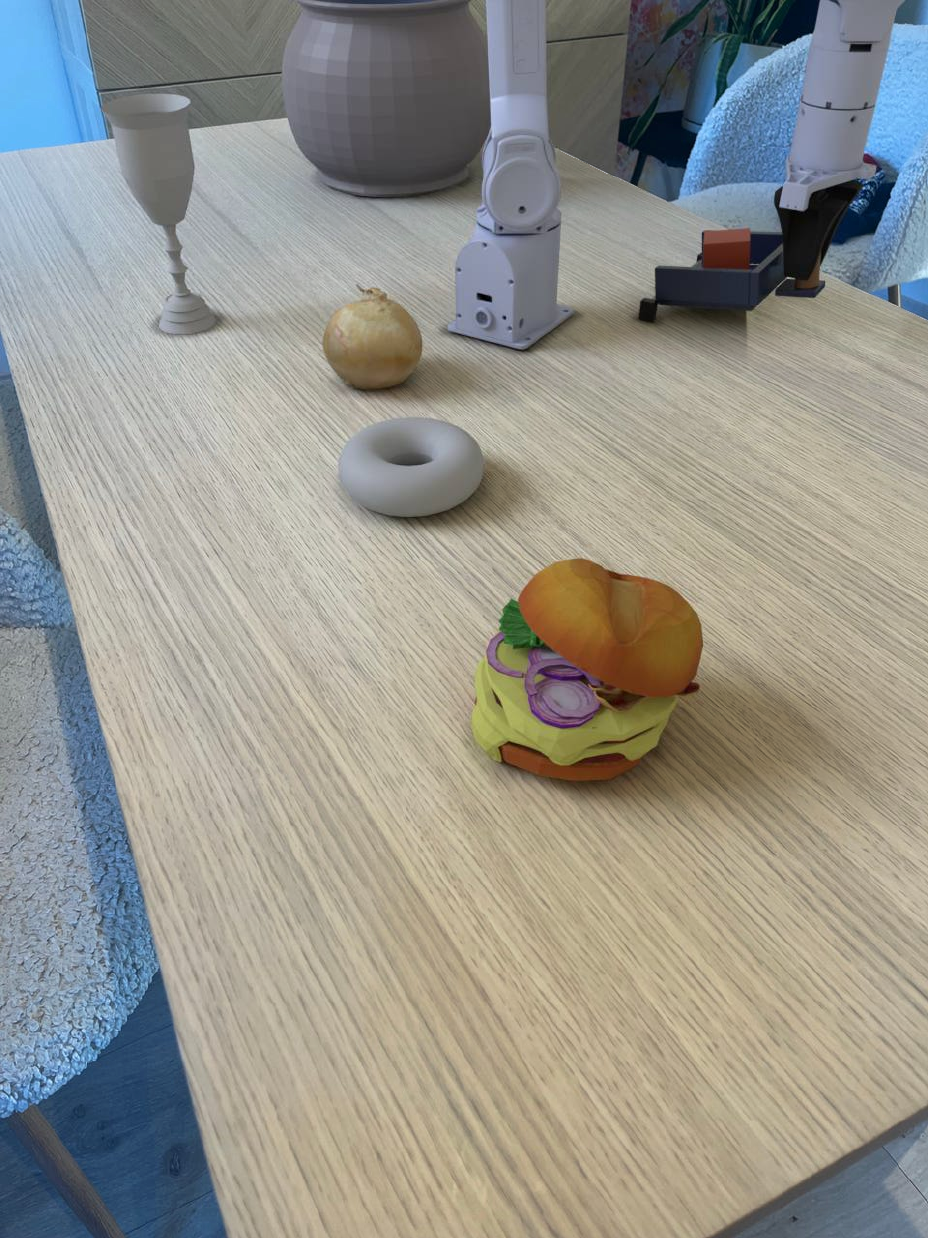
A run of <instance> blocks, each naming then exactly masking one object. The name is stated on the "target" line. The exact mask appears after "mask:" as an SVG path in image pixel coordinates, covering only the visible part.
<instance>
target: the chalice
mask: <svg viewBox="0 0 928 1238" xmlns="http://www.w3.org/2000/svg"><path fill="white" fill-rule="evenodd" d="M190 106H191V99H190V98H188V97H186V96H184V95H180V94H172V93H144V94H135V95H129V96H124V97H119V98H116V99H113V100H110V101H108V102H105V103H104V104H103V105H102V106H101V109H100V110H101V111H102V113H103V114H104V116H105V117H106V119H107V120H108V122H109V123H110V125H111V130H112V134H113V139H114V144H115V149H116V153H117V158H118V163H119V167H120V172H121V176H122V177H123V179H124V181H125V183H126V186H127V187H128V188H129V190H130V192H131V194H132V196H133V198H134V199H135V200H136V201H137V204H138V205H139V206H140V208H141V209H142V211H143V212H144V213H145V214H146V216H147V217H148V219H149V221H150V222H151V223H152V224H154V225H157V226H159V227H160V226H161V227H162V228H163V231H164V234H165V245H164V247H163V250H164V251H165V252H166V253H167V255H168V258H169V259H170V261H169V266H168V268H167V269H166V270H167V271H166V272H168V273H169V274H170V275H171V277H172V279H173V281H174V290H173V292H172V293H171V294H169V295H167V297H166V298H165V300H164V302H163V303H162V310H161V312H160V316H161V318H160V321H159V322H158V328H159V329H160V330H161V331H162V332H165V333H167V334H172V335H191V334H197V333H200V332H203V331H206V330H208V329H210V328H211V327H213V326H214V325H215V324H216V323H217V319H216V317H215V316H214V315H213V314H212V312H211V309H210V307H209V306H208V305H207V303H206V301H205V299H204V298H203V297H202V296H201V295H200V294H198V293H196V292H194V291H193V292H192V290H191V289H189V288H188V286H187V283H186V272H187V270H188V267H187V266H186V265H185V264H184V263H183V261H182V258H181V253H182V250H183V248H184V247H183V245H182V243H180V241H179V238H178V236H177V224H179V223H181V222H182V221H184V220H185V218H186V214H187V211H188V206H189V202H190V199H191V194H192V191H193V184H194V177H195V168H196V167H195V166H196V165H195V160H194V153H193V147H192V141H191V136H190V129H189V124H188V118H187V117H188V113H189V111H190Z"/></svg>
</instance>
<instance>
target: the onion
mask: <svg viewBox="0 0 928 1238" xmlns="http://www.w3.org/2000/svg"><path fill="white" fill-rule="evenodd" d="M355 287H356V288H357V289H358V291H359V292H362V293H361V294H362V298H361V299H359V300H357V301H354V302H351V303H348V304H346V305H345V306H342V307H341V308H339V309H338V310H337V311H336V312H334V314H333V315H332V316H331V317H330V318H329V321H328V322H327V325H326V326H325V329H324V332H323V336H322V344H321V347H322V351H323V353H324V356H325V359H326V362H327V363H328V365H329V366H330V368H331V369H332V371H334V373H336V375H337V377H339V379H340V380H342V382H343V383H344V384H345V385H346V386H347V387H349V388H350V389H354V388H357V389H359V390H366V391H367V390H377V389H386V388H390V387H394V386H398V385H400V384H402V383H404V382H406V381H407V379H408V377H409V376H411V375H412V373H413V372H415V371H416V369H418V366H419V363H420V361H421V358H422V356H423V355H422V354H423V344H424V343H423V337H422V332H421V330H420V327H419V325H418V324H417V322H416V320H415V319H414V317H413V316H412V315H411V314H410V313H409V312H408V311H407V310H406V309H405V308H404V307H403V306H402V304H400V303H399V302H397V301H395V300H392V299H390V298H388V295H387V293H386V292H385V291H382V290H381V288H379V287H373V286H372V287H370V288H368V289H364V288H363V287H362V286H360V285H359V284H358V283H356V284H355Z"/></svg>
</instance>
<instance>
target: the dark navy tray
mask: <svg viewBox="0 0 928 1238" xmlns="http://www.w3.org/2000/svg"><path fill="white" fill-rule="evenodd" d="M705 231H718V230H715V229H714V230H713V229H712V230H711V229H705V230H703V231H702V232H701V253H702V259H700V260H699V261H698V262H696V261H695V263H694V264H692V265H691V266H680V265H657V266H655V267H654V291H655V292H654V296H652V297H651V299H653V300H658V305H659V306H668V307H681V308H698V309H713V310H714V309H715V310H728V311H745V312H752V311H754V310H755V308H756V307H758V306H759V305H760V304H761V303H762V302H763V301H764V300H765V299H767V297H768V296H769V295H770V294H771V293H773V291H774V296H775V297H787V298H803V299H816V297H817V296H818V295H819V294H820V293H821V292H822V291H823V290H824V289H825V288H826V280H824V279H823V280H820V272H821V266H820V259H821V253H820V255H819V258H818V261H817V264H816V266H815V268H814V271H813V273H812V275H811V276H810V278H809V279H808V280H807V281H805V280H800V279H795V278H788V277H785V276H784V265H783V237H782V231H756V230H755V231H754V230H750V270H749V269H727V268H704V267H703V242H704V233H705Z"/></svg>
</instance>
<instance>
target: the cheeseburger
mask: <svg viewBox="0 0 928 1238" xmlns="http://www.w3.org/2000/svg"><path fill="white" fill-rule="evenodd" d="M501 610H502V614H503V615H502V616H501V617H500V618H499V619H498V622H499V624H500V626H499V628H498V631H497V632H495V634H494V635H493V636H492V638H491V639H490V640H489V643H488V645H487V648H486V650H485V655H484V656H483V657H482V659H481V660H480V661H479V662H478V665H477V667H476V671H475V674H474V692H475V699H474V707H473V708H472V712H471V713H472V714H471V720H470V721H471V724H470V727H471V731H472V734H473V737H474V741H475V743H477V744H478V745H479V746H480V747H481V748H482V750H483V751H484V752H485V753H486V754H487V755H488V756H489V757H490V759H491V760H493V761H495V762H497V763H501V762H502V759H503V761H505V762H506V763H507V764H510V765H513V766H515V767H517V768H520V769H523V770H524V771H527V772H530V773H531V774H535V775H537V776H540V777H541V776H542V777H547V778H553V779H562V780H566V781H573V782H580V781H598V780H599V781H601V780H602V781H603V780H605V781H606V780H611V779H612V778H615V777H617V776H619V775H621V774H623V773H625V772H626V771H629V770H631V769H632V768H635V767H637V766H638V765H639V763H640V761H641V760H642V759H643V757H644V755H646V754H647V753H648V752H649V751H651V750H652V749H655V748H656V747H657V746H658V744H659V740H660V737H661V734H662V733H663V731H664V730H665V728H666V726H667V724H668V722H669V721H668V720H669V718H670V716H671V713H672V712H673V711H674V709H675V708H676V705H677V703H678V700H679V698H689V697H691V696H694V695H696V694H698V693H699V691H700V688H701V684H699V683H698V682H697V681H696V682H695V681H694V679H695V678H696V676H697V673H698V669H699V665H700V661H701V657H702V654H703V653H702V652H703V649H704V640H703V639H704V638H703V637H704V636H703V627H702V622H701V620H700V618H699V615H698V613H697V611H696V610H695V609H694V607H692V605H691V604H690V603H689V602H688V600H686V599H685V598H684V596H682V594H681V593H680V592H679V591H677V590H676V589H674V588H673V587H671V586H669V585H668V584H665V583H664V582H661V581H658V580H655V579H652V578H648V577H644V576H639V575H632V574H626V573H618V572H615V571H613V570H610V569H606V568H605V567H604V566H602V565H601V564H600V563H597V562H595V561H593V560H590V559H586V558H582V557H580V558H571V559H564V560H557V561H554V562H553V563H551V564H549V565H548V566H546V567H545V568H542V569H541V570H540V571H538V572H536V573H535V574H534V576H533V577H531V579H530V580H529V581H528V582H527V583H526V585H525V586H524V587H523V589H522V591H521V592H520V594H519V596H518V598H517V600H514V599H512V598H510V599H509V601H508V602H507V603H506V604H505V606H503V608H501Z"/></svg>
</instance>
